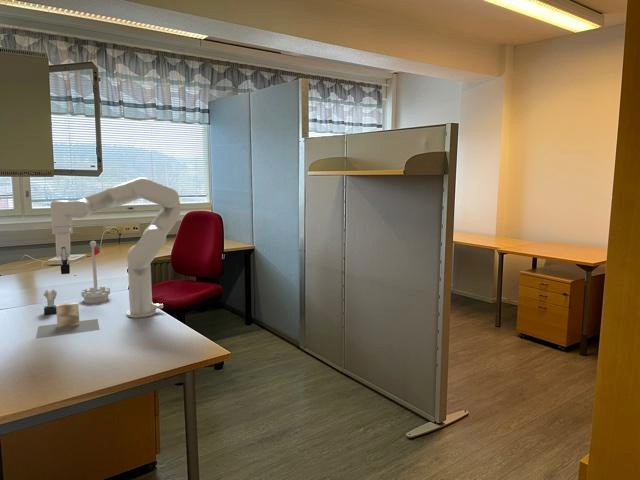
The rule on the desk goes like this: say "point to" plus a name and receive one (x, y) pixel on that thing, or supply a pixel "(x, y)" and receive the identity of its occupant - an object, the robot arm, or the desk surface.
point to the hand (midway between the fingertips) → (65, 272)
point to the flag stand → (95, 283)
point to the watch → (50, 302)
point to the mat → (67, 328)
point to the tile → (67, 314)
